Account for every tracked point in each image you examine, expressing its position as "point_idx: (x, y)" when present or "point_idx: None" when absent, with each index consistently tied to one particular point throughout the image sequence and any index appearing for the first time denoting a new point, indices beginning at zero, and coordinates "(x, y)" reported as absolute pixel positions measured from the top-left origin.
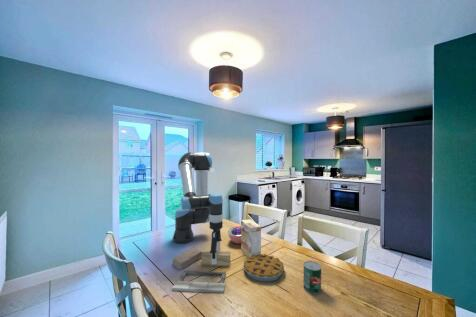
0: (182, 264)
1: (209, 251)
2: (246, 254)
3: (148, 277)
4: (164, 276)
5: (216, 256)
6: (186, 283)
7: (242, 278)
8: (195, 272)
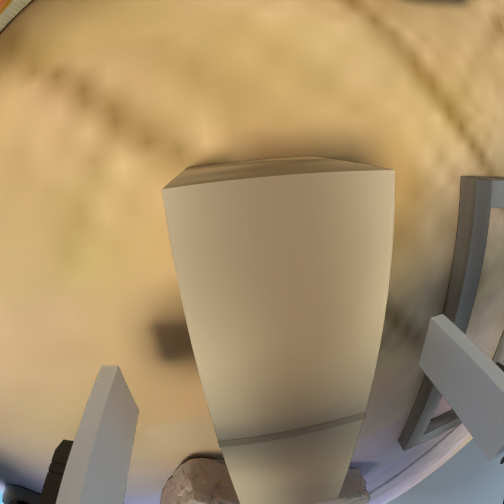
0: (362, 486)
1: (264, 487)
2: (9, 19)
3: (397, 492)
4: (405, 471)
5: (490, 371)
6: None
7: (473, 30)
8: (436, 401)
